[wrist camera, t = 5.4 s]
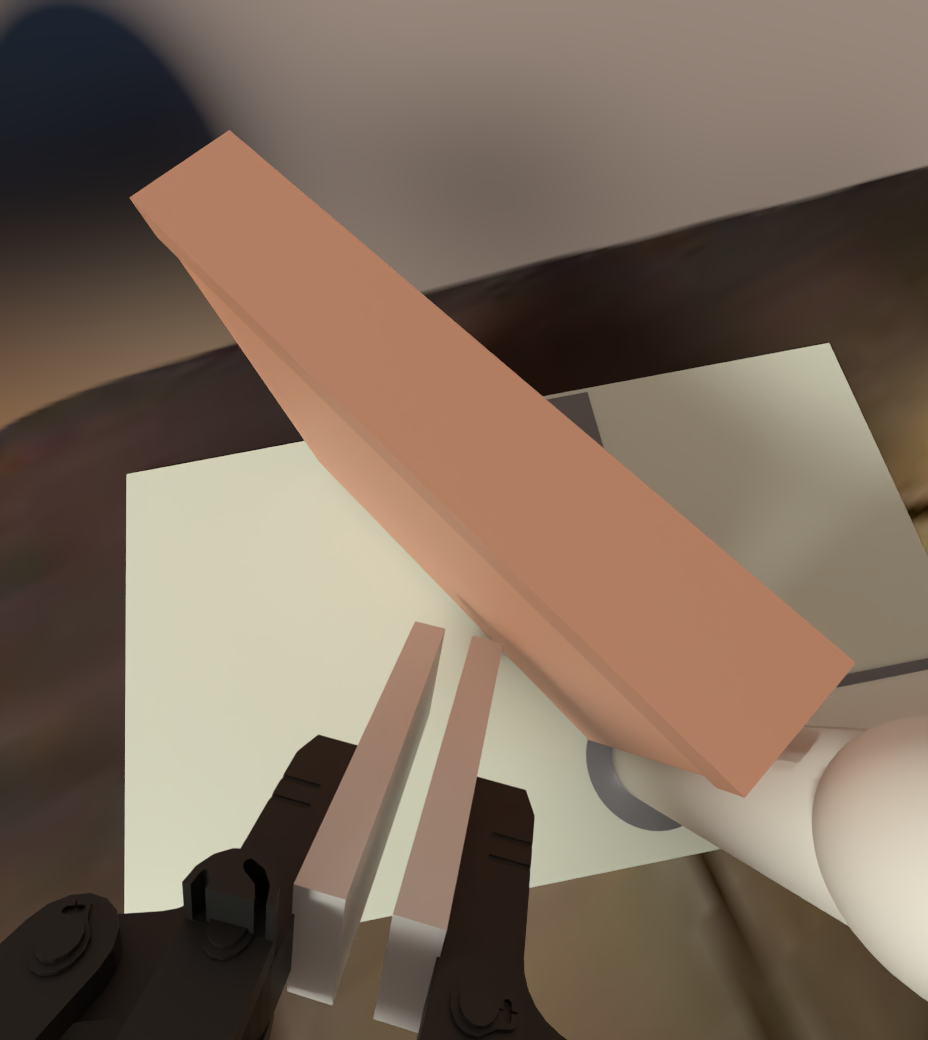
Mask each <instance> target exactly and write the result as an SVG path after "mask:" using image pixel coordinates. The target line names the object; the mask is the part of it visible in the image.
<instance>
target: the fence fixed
mask: <svg viewBox="0 0 928 1040" xmlns="http://www.w3.org/2000/svg"><path fill="white" fill-rule="evenodd" d="M612 765H613V769H614V772H615V775H616V777H617V779H618V780H619V782H620V784H621V785H622V786H623V787H624V788H625V790H626V791H627V792H629V793H630V794H631V795H633V796H634V797H636V798H638V799H639V800H641V801H642V802H644V803H646V804H647V805H649V806H651V807H652V808H654V809H656V810H657V811H659V812H661V813H662V814H664V815H666V816H667V817H669V818H671V819H672V820H674V821H676V822H677V823H679V824H680V825H682V826H684V827H685V828H687V829H689V830H690V831H692V832H694V833H695V834H697V835H699V836H700V837H702V838H704V839H705V840H707V841H709V842H710V843H712V844H714V845H715V846H717V847H718V848H720V849H722V850H723V851H725V852H727V853H728V854H730V855H732V856H733V857H735V858H737V859H738V860H740V861H742V862H743V863H745V864H747V865H748V866H750V867H752V868H753V869H755V870H757V871H758V872H760V873H761V874H763V875H765V876H766V877H768V878H770V879H771V880H773V881H775V882H776V883H778V884H780V885H781V886H783V887H785V888H786V889H788V890H790V891H791V892H793V893H795V894H796V895H798V896H799V897H801V898H803V899H804V900H806V901H808V902H809V903H811V904H813V905H814V906H816V907H818V908H819V909H821V910H823V911H824V912H826V913H828V914H829V915H831V916H833V917H834V918H836V919H837V920H839V921H841V922H842V923H844V924H846V925H847V926H849V927H850V928H851V930H852V931H853V932H854V934H855V935H856V936H857V937H858V938H859V940H860V941H861V942H862V943H863V945H864V946H865V947H866V948H867V949H868V950H869V951H870V953H871V954H872V955H873V956H874V957H875V958H876V959H877V960H878V961H879V962H880V963H881V964H882V965H883V966H884V967H885V968H886V969H887V970H888V971H889V972H890V973H891V974H893V975H894V976H895V977H896V978H898V979H899V980H900V981H901V982H903V983H904V984H905V985H906V986H908V987H909V988H910V989H912V990H913V991H914V992H915V993H917V994H918V995H919V996H920V997H922V998H923V999H925V1000H927V1001H928V670H923V671H918V672H913V673H908V674H903V675H898V676H893V677H888V678H883V679H878V680H873V681H868V682H863V683H858V684H852V685H847V686H842V687H837V688H835V689H834V690H833V691H832V693H831V694H830V695H829V696H828V698H827V699H826V700H825V701H824V702H823V704H822V705H821V706H820V707H819V708H818V710H817V711H816V712H815V713H814V715H813V716H812V717H811V718H810V719H809V721H808V722H807V723H806V724H805V725H804V727H803V728H802V729H801V730H800V732H799V733H798V734H797V735H796V736H795V738H794V739H793V740H792V741H791V742H790V744H789V745H788V746H787V747H786V749H785V750H784V751H783V752H782V753H781V755H780V756H779V757H778V758H777V759H776V761H775V762H774V763H773V764H772V766H771V767H770V768H769V769H768V770H767V772H766V773H765V774H764V775H763V776H762V778H761V779H760V780H759V781H758V783H757V784H756V785H755V786H754V787H753V789H752V790H751V791H750V792H749V793H748V795H747V796H746V797H745V798H744V797H741V796H738V795H735V794H733V793H730V792H727V791H724V790H721V789H718V788H716V787H715V786H714V785H713V784H712V783H711V782H710V781H709V780H708V779H707V778H706V777H705V776H702V775H699V774H696V773H693V772H690V771H686V770H683V769H680V768H677V767H674V766H670V765H667V764H664V763H661V762H658V761H654V760H651V759H648V758H645V757H642V756H638V755H635V754H632V753H629V752H626V751H622V750H619V749H616V748H613V747H612Z"/></svg>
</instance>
